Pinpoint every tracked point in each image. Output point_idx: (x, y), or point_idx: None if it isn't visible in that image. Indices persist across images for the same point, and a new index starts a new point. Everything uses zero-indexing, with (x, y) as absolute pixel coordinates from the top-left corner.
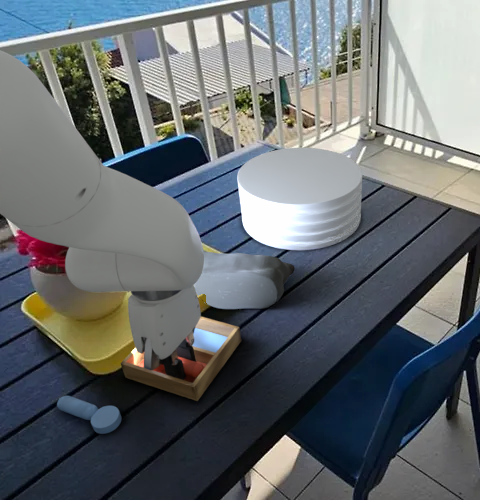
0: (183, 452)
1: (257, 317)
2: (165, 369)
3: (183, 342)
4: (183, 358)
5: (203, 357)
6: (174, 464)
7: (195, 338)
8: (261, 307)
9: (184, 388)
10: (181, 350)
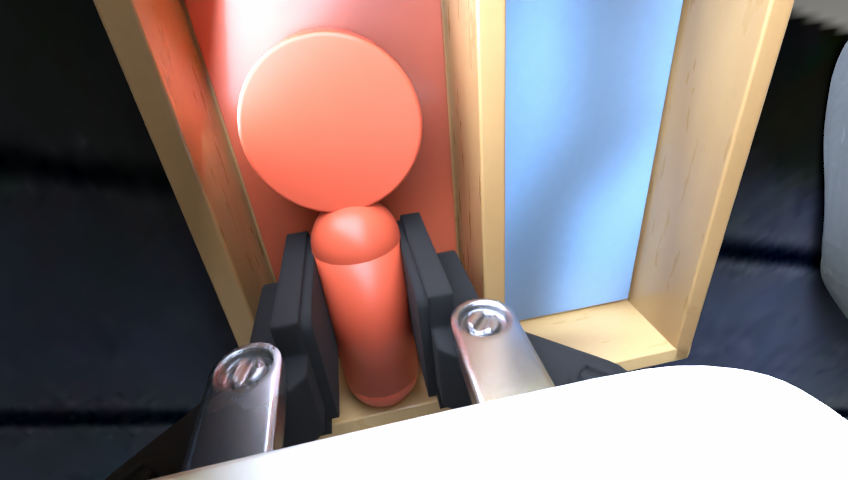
0: (96, 465)
1: (766, 267)
2: (257, 313)
3: (453, 393)
4: (395, 312)
5: None
6: (40, 475)
7: (590, 142)
8: (825, 268)
9: None
10: (418, 330)
